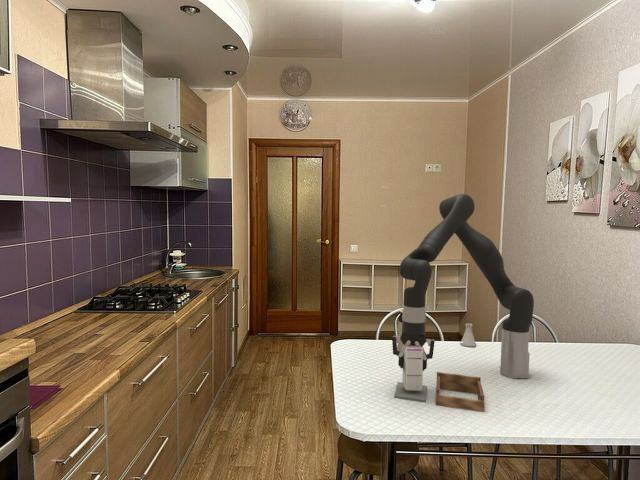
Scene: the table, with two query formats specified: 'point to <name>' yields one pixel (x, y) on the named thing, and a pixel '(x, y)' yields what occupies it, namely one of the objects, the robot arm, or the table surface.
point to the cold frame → (460, 385)
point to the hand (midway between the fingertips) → (412, 368)
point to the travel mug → (400, 330)
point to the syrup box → (412, 368)
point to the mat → (410, 393)
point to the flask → (468, 337)
